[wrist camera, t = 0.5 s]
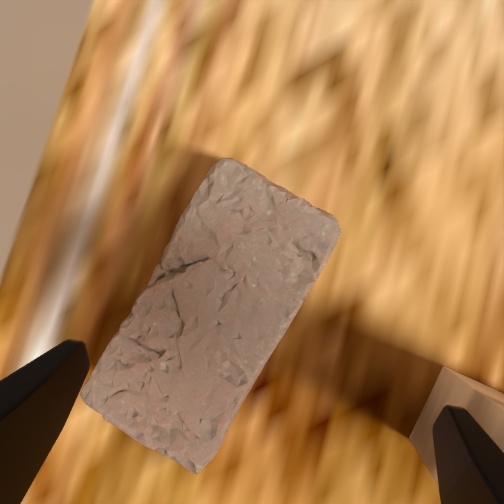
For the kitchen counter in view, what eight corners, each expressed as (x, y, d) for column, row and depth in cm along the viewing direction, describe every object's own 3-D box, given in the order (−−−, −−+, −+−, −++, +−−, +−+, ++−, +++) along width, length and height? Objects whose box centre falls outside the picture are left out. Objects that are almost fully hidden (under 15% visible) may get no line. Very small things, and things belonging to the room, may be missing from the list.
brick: (230, 163, 24) (216, 142, 20) (343, 226, 23) (355, 219, 19) (111, 375, 25) (70, 404, 20) (215, 442, 24) (197, 488, 20)
